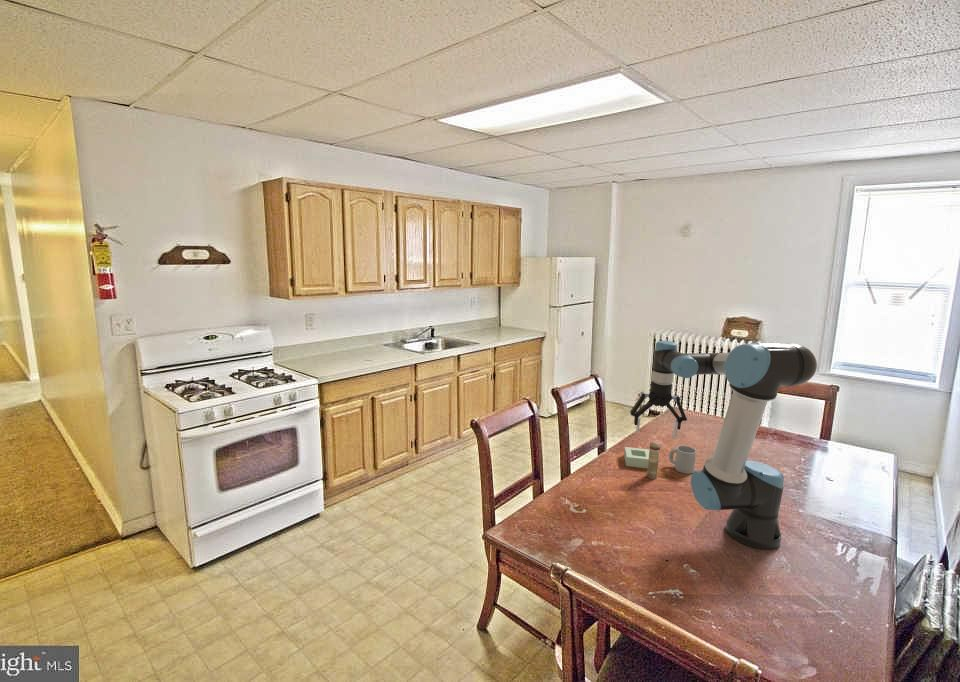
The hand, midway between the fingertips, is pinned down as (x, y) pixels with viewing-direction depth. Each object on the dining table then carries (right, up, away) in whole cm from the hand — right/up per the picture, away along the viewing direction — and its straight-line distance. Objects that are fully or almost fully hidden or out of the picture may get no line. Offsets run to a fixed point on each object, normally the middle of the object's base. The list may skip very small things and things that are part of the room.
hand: (655, 434), depth 182 cm
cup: (+14, -16, +11) cm, 24 cm away
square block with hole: (-2, -14, +16) cm, 21 cm away
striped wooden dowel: (0, -17, +3) cm, 17 cm away
